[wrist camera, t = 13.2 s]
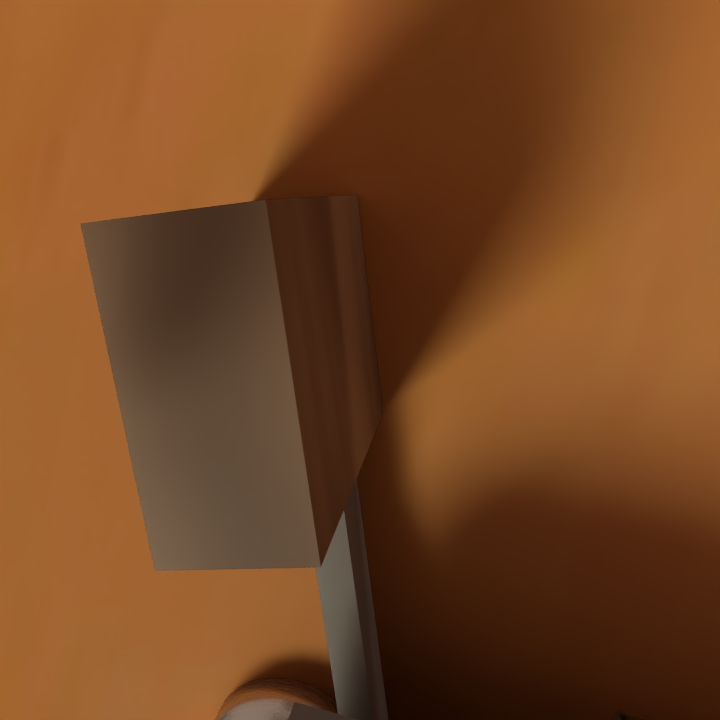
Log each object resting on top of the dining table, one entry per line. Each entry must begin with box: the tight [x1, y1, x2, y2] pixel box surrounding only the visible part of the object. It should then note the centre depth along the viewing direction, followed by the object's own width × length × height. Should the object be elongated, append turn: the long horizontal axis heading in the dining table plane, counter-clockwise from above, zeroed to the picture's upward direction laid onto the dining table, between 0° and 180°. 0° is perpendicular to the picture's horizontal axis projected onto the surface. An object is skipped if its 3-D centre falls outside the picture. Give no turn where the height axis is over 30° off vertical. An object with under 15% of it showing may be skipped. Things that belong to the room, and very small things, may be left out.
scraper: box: [81, 195, 389, 720], centre depth 16 cm, size 3×18×8 cm, turn 7°
